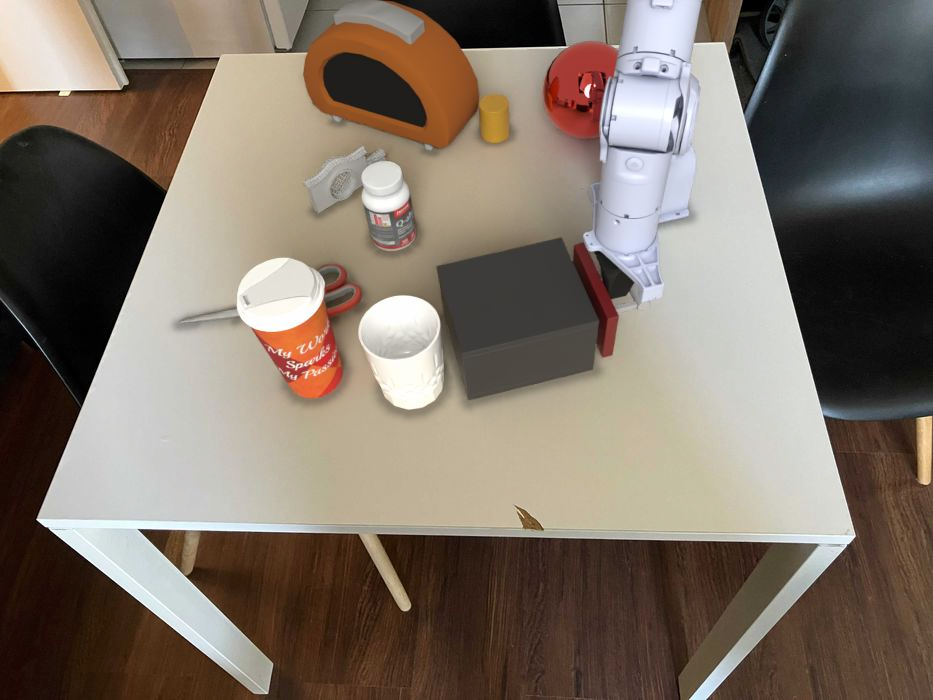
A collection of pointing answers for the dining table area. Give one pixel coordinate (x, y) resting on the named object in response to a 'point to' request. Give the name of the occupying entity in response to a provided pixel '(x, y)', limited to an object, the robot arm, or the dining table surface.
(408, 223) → the pill bottle
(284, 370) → the coffee cup
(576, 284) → the dark drawer box
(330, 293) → the scissors
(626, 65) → the robot arm
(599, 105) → the ball
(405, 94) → the alarm clock
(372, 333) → the white cup
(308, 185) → the lattice window wall
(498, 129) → the yellow cylinder
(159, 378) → the dining table surface
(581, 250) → the drawer
